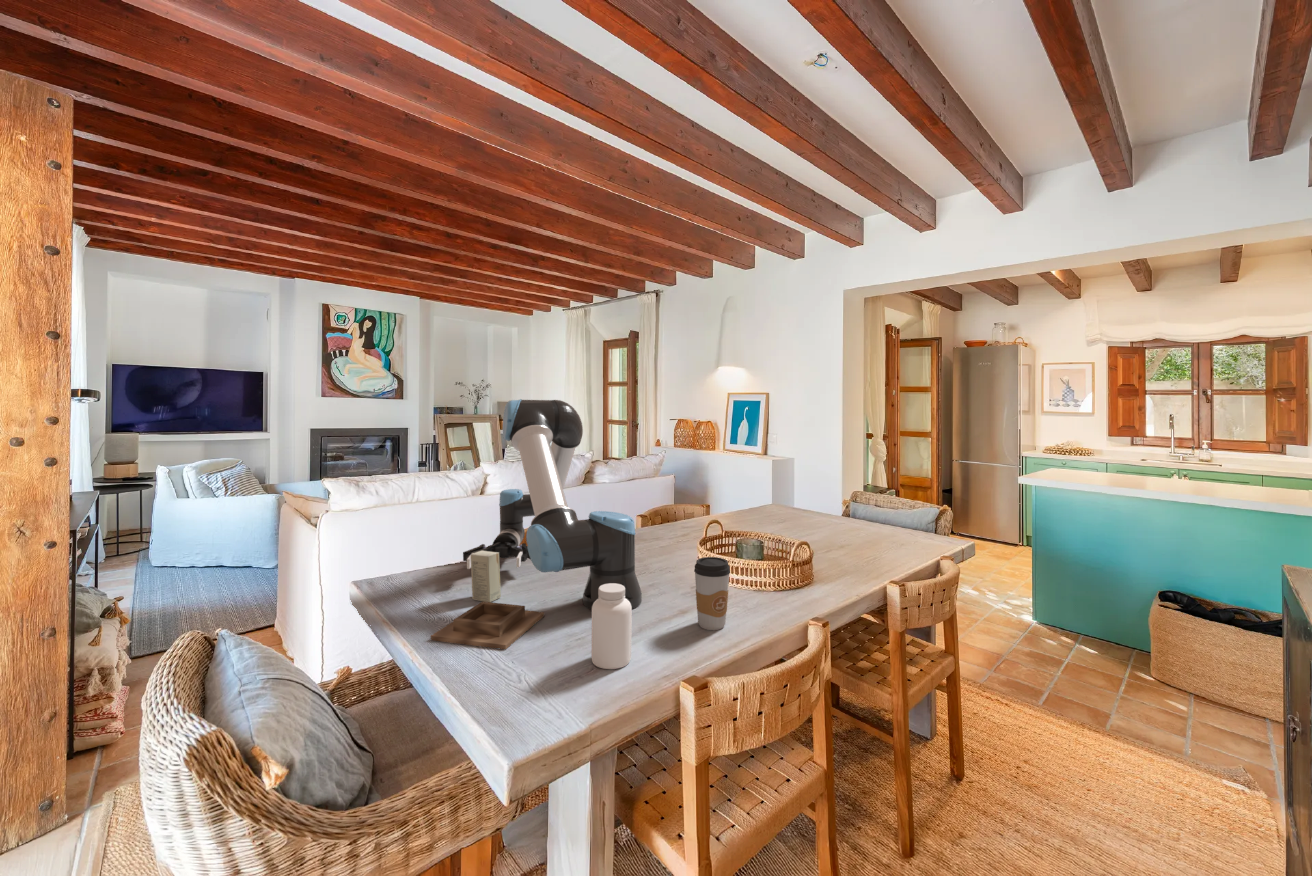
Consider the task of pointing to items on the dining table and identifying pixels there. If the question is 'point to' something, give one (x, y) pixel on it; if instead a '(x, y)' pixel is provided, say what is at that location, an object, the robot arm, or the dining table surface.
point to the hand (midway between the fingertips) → (493, 563)
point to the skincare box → (485, 576)
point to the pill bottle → (611, 627)
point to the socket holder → (489, 625)
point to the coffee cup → (712, 591)
